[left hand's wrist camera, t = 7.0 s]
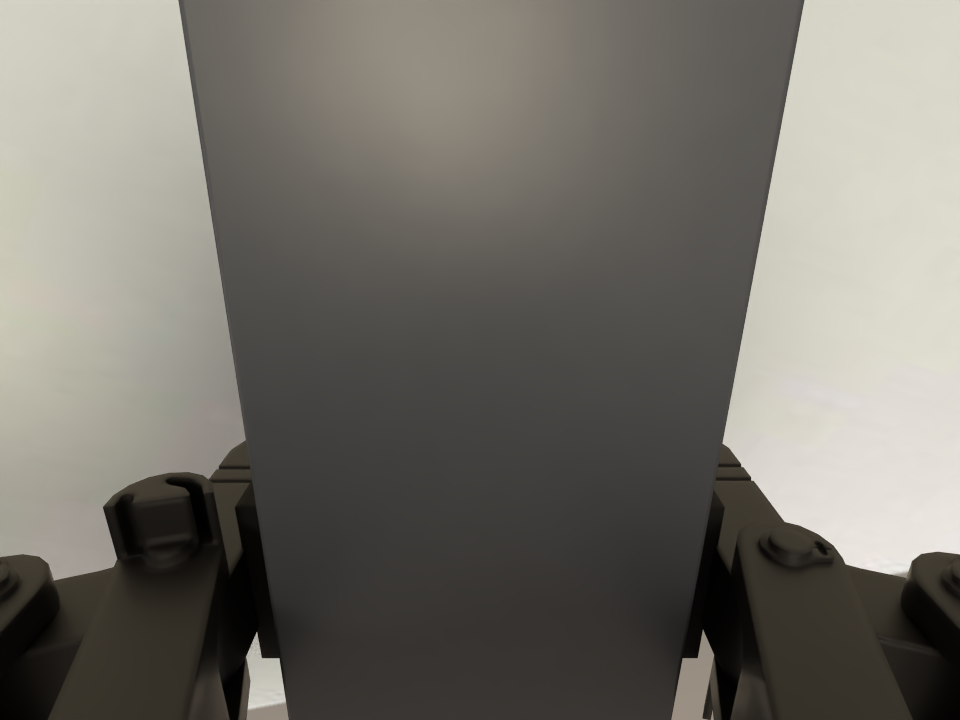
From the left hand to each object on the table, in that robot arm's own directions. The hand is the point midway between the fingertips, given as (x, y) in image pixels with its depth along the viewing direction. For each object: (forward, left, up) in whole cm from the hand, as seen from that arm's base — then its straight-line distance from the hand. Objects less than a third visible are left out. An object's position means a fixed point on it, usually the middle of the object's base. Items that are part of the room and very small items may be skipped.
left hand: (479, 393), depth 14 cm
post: (+10, +32, 0) cm, 33 cm away
